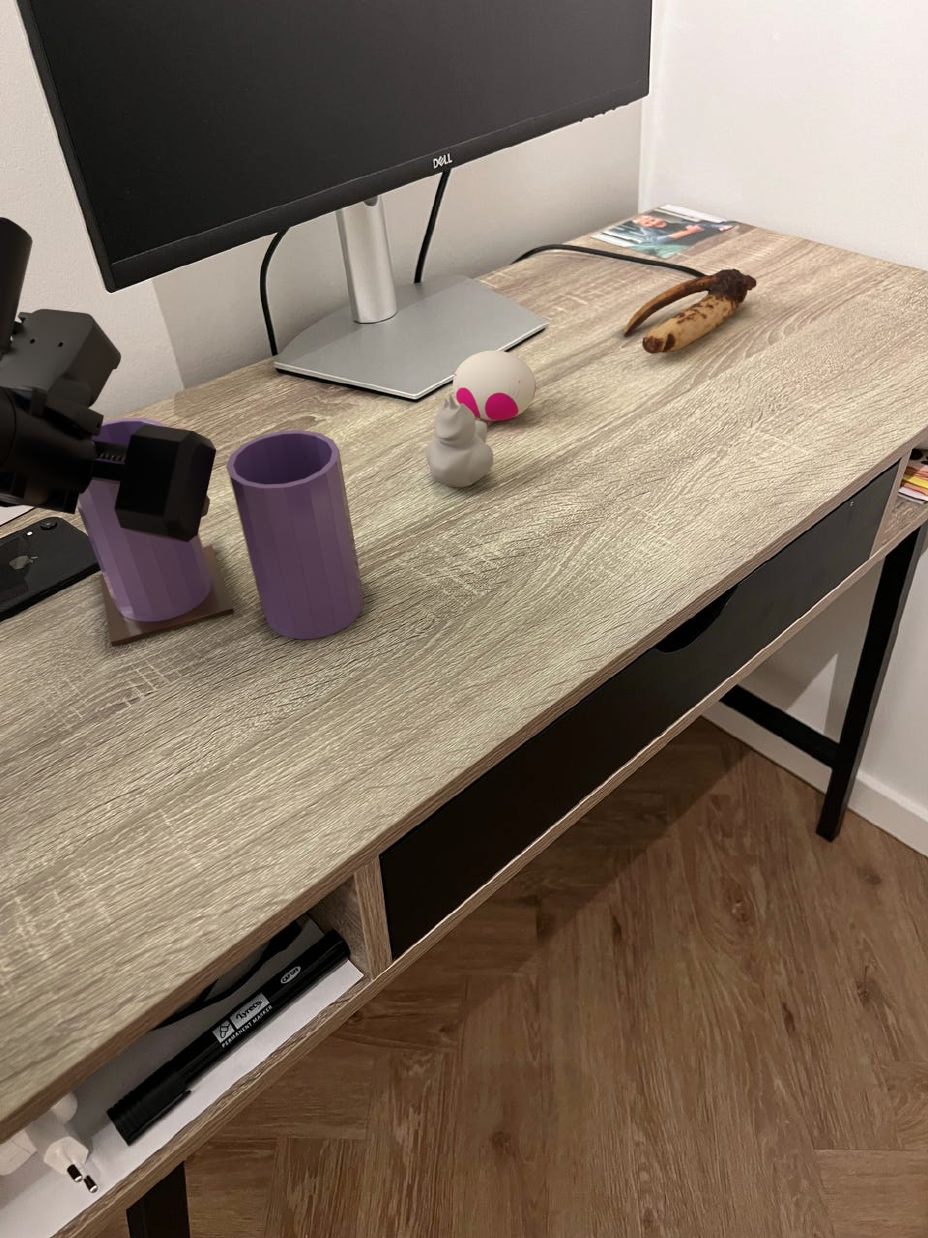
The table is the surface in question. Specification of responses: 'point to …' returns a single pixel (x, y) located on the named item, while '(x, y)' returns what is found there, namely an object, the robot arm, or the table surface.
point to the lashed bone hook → (693, 309)
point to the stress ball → (494, 385)
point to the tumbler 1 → (141, 550)
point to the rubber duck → (458, 446)
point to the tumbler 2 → (298, 532)
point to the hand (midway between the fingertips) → (149, 497)
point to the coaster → (207, 609)
